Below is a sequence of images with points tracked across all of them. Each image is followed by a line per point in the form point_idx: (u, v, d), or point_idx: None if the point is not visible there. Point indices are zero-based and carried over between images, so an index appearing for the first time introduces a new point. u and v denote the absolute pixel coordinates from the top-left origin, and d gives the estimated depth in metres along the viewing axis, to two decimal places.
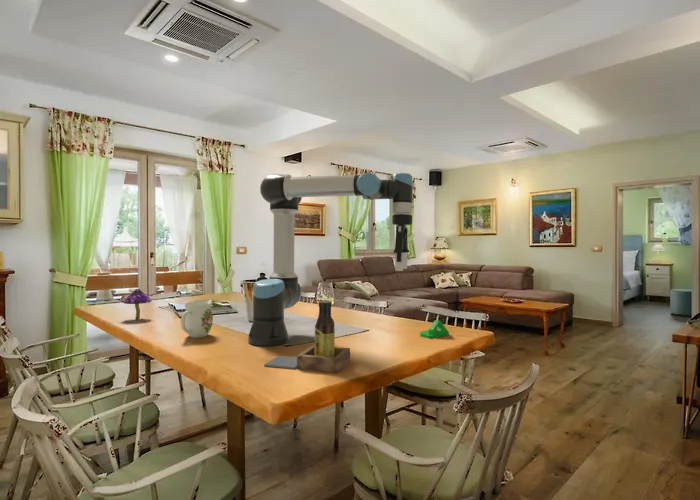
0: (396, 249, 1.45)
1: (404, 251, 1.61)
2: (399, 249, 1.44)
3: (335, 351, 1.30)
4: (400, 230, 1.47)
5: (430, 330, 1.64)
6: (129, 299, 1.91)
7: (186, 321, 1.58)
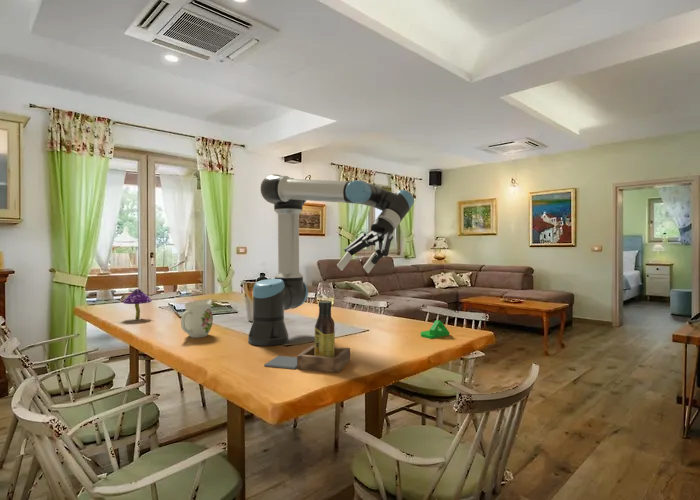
0: (384, 251, 1.27)
1: (350, 253, 1.41)
2: (386, 253, 1.28)
3: (335, 351, 1.30)
4: (390, 238, 1.33)
5: (431, 330, 1.63)
6: (129, 299, 1.91)
7: (186, 321, 1.58)
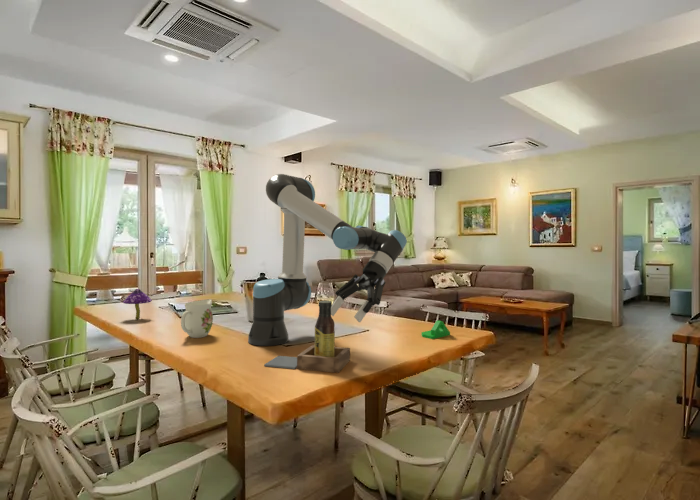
0: (376, 299, 1.24)
1: (341, 297, 1.37)
2: (378, 301, 1.24)
3: (335, 351, 1.30)
4: (382, 283, 1.30)
5: (432, 330, 1.63)
6: (129, 299, 1.91)
7: (186, 321, 1.58)
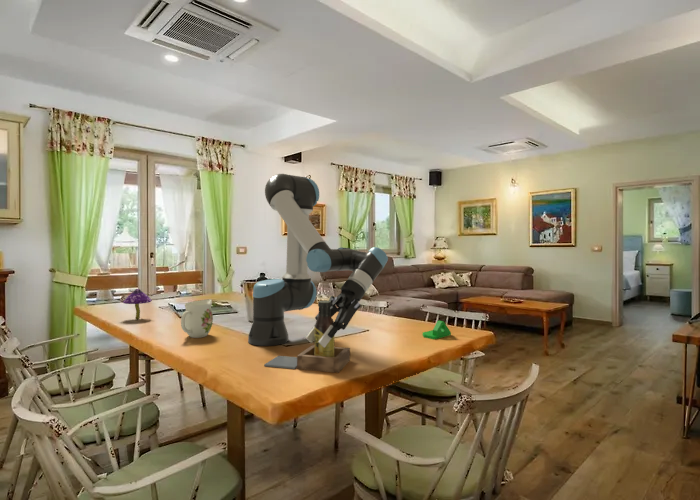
0: (341, 324, 1.21)
1: None
2: (343, 327, 1.22)
3: (335, 351, 1.30)
4: (356, 307, 1.25)
5: (434, 331, 1.62)
6: (129, 299, 1.91)
7: (186, 321, 1.58)
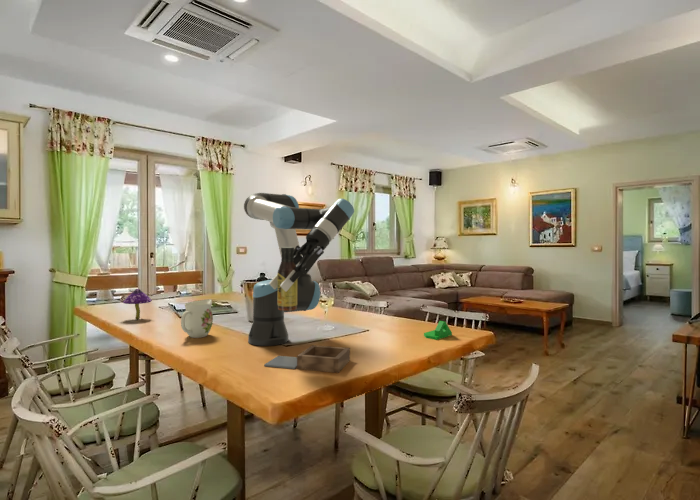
0: (303, 269, 1.22)
1: None
2: (305, 271, 1.23)
3: (335, 351, 1.30)
4: (319, 253, 1.26)
5: (436, 331, 1.62)
6: (129, 299, 1.91)
7: (186, 321, 1.58)
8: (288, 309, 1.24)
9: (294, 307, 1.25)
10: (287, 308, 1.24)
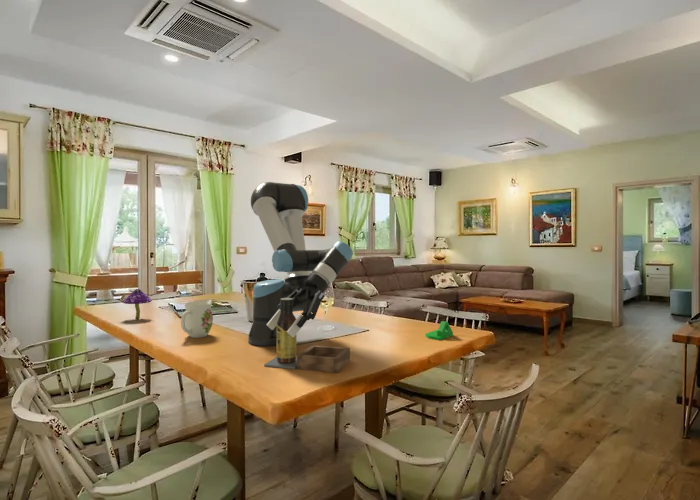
0: (310, 314, 1.21)
1: None
2: (312, 316, 1.21)
3: (335, 351, 1.30)
4: (320, 297, 1.26)
5: (439, 331, 1.61)
6: (129, 299, 1.91)
7: (186, 321, 1.58)
8: (287, 361, 1.24)
9: (293, 358, 1.25)
10: (286, 360, 1.24)
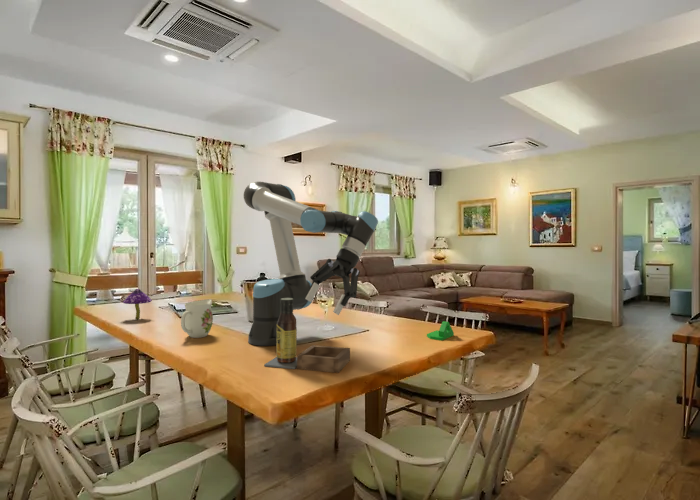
0: (353, 294, 1.31)
1: (317, 282, 1.42)
2: (354, 295, 1.32)
3: (335, 351, 1.30)
4: (357, 274, 1.35)
5: (440, 332, 1.61)
6: (129, 299, 1.91)
7: (186, 321, 1.58)
8: (287, 361, 1.24)
9: (293, 359, 1.25)
10: (286, 360, 1.24)
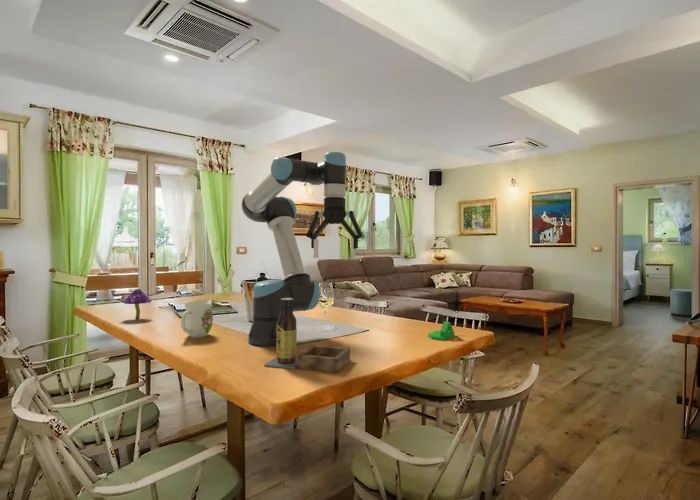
0: (361, 235, 1.38)
1: (315, 238, 1.43)
2: (362, 235, 1.39)
3: (335, 351, 1.30)
4: (353, 215, 1.39)
5: (442, 332, 1.60)
6: (129, 299, 1.91)
7: (186, 321, 1.58)
8: (287, 361, 1.24)
9: (293, 359, 1.25)
10: (286, 360, 1.24)
